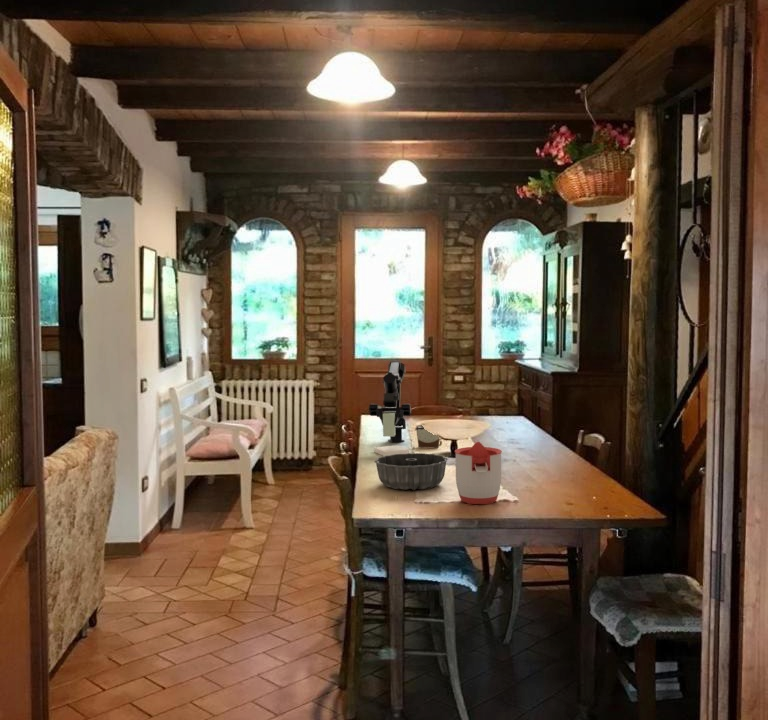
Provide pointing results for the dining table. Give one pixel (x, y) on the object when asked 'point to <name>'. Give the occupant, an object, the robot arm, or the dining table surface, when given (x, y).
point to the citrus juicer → (478, 474)
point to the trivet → (391, 450)
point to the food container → (426, 438)
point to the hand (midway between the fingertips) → (388, 424)
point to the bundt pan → (411, 470)
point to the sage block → (388, 424)
